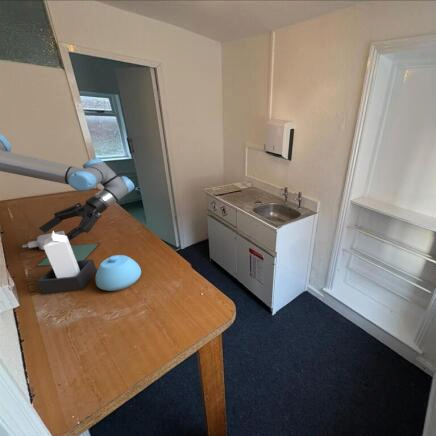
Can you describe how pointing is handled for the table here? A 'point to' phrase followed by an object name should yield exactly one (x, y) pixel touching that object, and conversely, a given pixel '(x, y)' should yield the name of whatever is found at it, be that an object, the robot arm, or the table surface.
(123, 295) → the table surface
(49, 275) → the box
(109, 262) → the sugar bowl
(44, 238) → the glue bottle
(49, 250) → the milk
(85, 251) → the mat
